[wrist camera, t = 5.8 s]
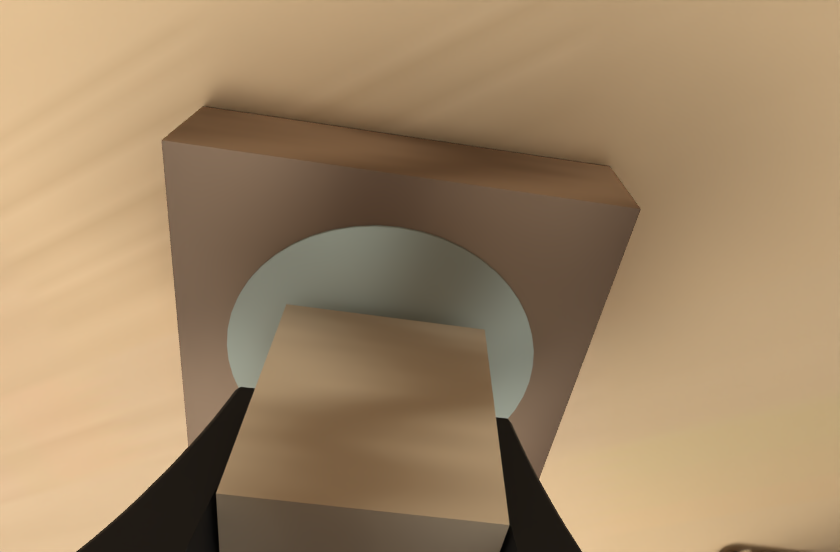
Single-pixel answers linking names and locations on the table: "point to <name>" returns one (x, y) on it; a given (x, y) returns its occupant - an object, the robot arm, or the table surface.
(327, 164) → the plinth
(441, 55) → the table surface
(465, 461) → the block
